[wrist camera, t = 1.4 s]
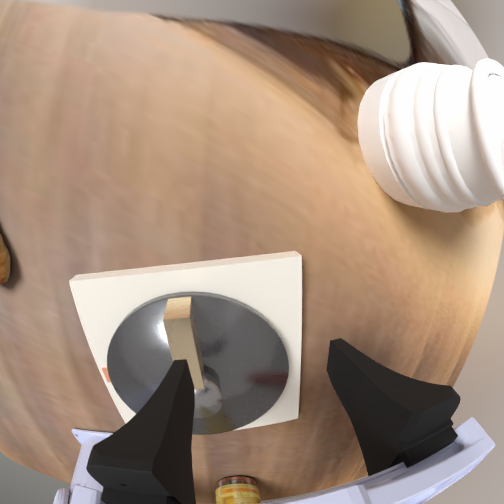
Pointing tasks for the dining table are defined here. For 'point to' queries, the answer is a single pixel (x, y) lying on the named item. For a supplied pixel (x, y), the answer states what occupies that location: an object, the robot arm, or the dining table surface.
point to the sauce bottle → (237, 491)
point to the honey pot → (436, 135)
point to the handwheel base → (201, 280)
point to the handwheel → (201, 357)
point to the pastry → (4, 262)
